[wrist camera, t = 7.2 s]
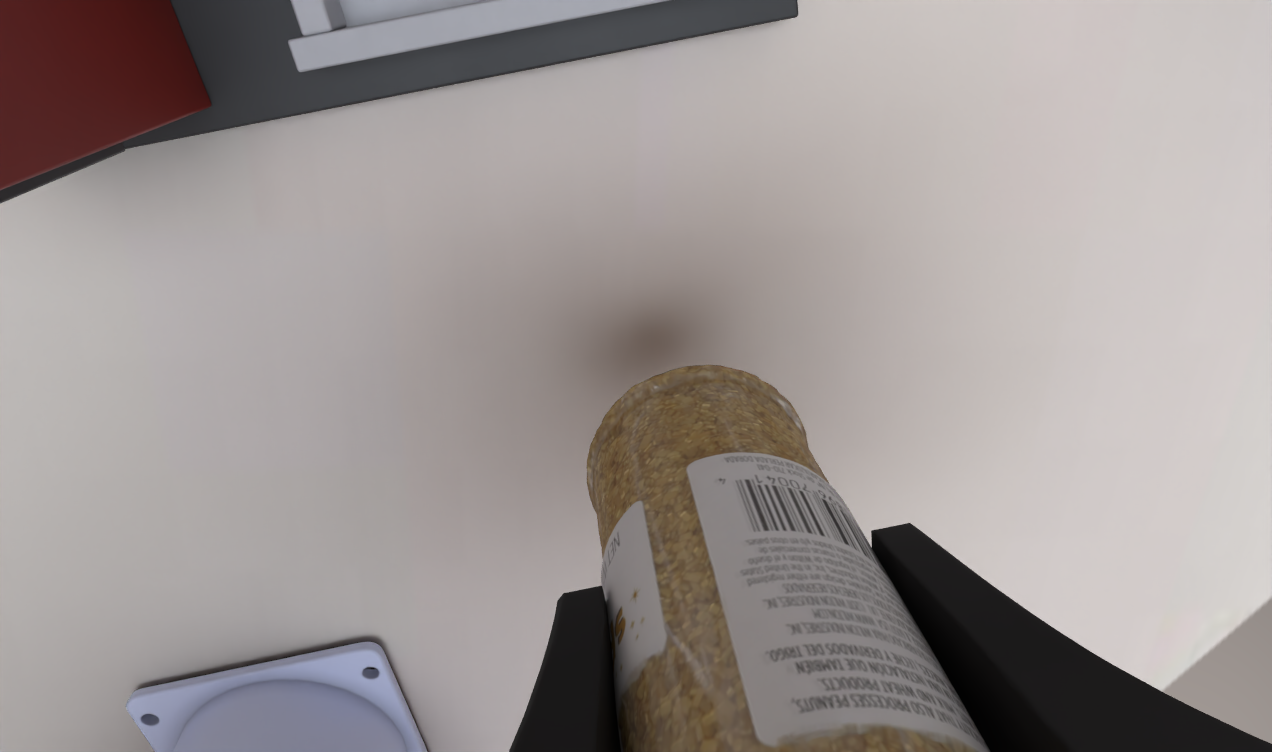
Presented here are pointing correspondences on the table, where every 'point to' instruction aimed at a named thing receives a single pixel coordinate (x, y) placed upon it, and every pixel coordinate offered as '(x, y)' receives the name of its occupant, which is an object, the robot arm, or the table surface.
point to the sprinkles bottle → (750, 586)
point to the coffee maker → (283, 61)
